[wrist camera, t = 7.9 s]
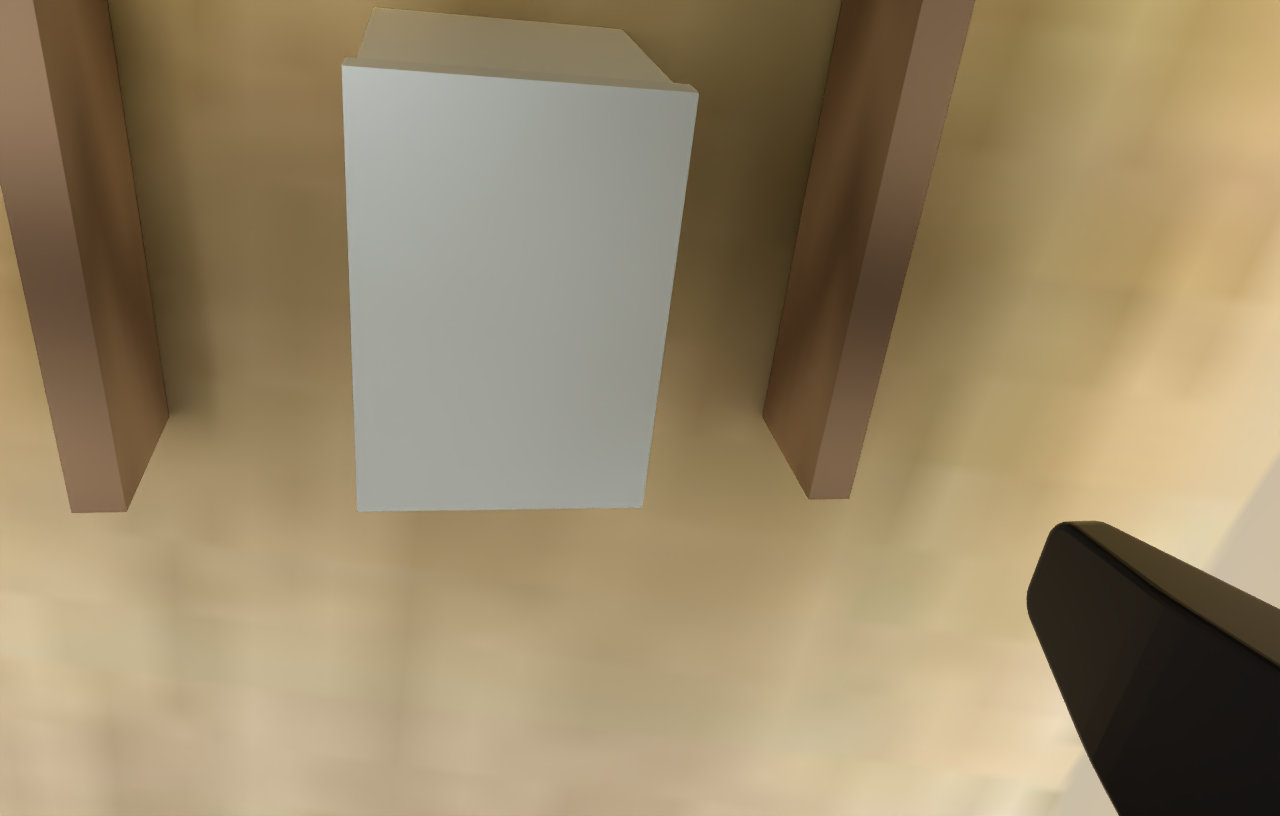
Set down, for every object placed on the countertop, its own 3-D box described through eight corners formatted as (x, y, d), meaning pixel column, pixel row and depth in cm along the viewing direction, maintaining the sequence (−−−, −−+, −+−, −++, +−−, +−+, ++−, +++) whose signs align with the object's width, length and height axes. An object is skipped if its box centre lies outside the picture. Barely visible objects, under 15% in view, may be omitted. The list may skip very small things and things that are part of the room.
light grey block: (594, 355, 19) (642, 507, 15) (374, 351, 19) (357, 511, 14) (627, 23, 16) (699, 93, 12) (367, -2, 16) (341, 65, 11)
